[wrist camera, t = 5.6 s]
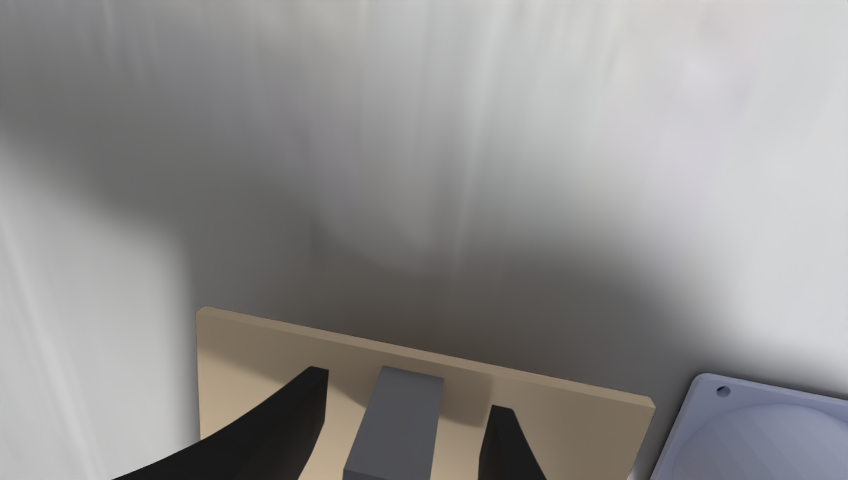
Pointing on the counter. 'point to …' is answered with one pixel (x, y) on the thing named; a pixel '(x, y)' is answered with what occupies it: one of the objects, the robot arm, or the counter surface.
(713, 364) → the counter surface
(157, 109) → the counter surface
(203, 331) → the sliding lid
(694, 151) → the counter surface
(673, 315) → the counter surface
